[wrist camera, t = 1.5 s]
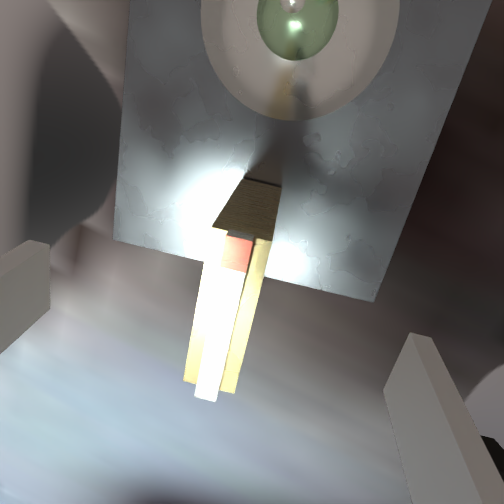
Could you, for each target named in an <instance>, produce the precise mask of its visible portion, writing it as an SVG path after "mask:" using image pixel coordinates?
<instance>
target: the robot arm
mask: <svg viewBox="0 0 504 504" xmlns="http://www.w3.org/2000/svg"><path fill="white" fill-rule="evenodd" d="M49 309H50V245H48V244H44V243H40V242H36V241H32V240H28V241H26V242H24V243H23V244H21V245H19V246H18V247H16V248H14V249H13V250H11V251H9V252H7V253H6V254H4V255H3V256H1V257H0V354H1V353H2V352H3V351H4V350H5V349H7V348H8V347H9V346H10V345H11V344H12V343H13V342H14V341H15V340H16V339H17V338H19V337H20V336H21V335H22V334H23V333H24V332H25V331H26V330H27V329H28V328H30V327H31V326H32V325H33V324H34V323H35V322H36V321H37V320H38V319H39V318H40V317H42V316H43V315H44V314H45V313H46V312H47V311H48V310H49ZM383 393H384V397H385V401H386V405H387V409H388V413H389V416H390V420H391V424H392V428H393V432H394V436H395V439H396V443H397V447H398V451H399V455H400V459H401V462H402V466H403V470H404V474H405V478H406V482H407V485H408V489H409V493H410V497H411V501H412V504H504V449H503V448H502V447H501V446H500V445H499V444H498V443H497V442H496V441H495V439H493V438H489V437H485V436H481V435H480V434H479V432H478V430H477V428H476V426H475V424H474V422H473V420H472V418H471V416H470V414H469V412H468V410H467V408H466V406H465V404H464V402H463V400H462V398H461V396H460V394H459V392H458V390H457V388H456V386H455V384H454V382H453V380H452V378H451V376H450V374H449V372H448V370H447V368H446V366H445V364H444V362H443V360H442V358H441V356H440V354H439V352H438V350H437V348H436V346H435V344H434V342H433V340H432V338H431V337H427V336H423V335H419V334H415V333H409V335H408V337H407V339H406V341H405V344H404V346H403V348H402V350H401V352H400V354H399V357H398V359H397V361H396V363H395V365H394V367H393V370H392V372H391V374H390V376H389V378H388V380H387V383H386V385H385V387H384V389H383Z"/></svg>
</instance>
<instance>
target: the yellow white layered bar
mask: <svg viewBox="0 0 504 504" xmlns="http://www.w3.org/2000/svg"><path fill="white" fill-rule="evenodd" d="M281 190H282V188H280V187H276V186H272V185H268V184H264V183H259V182H255V181H251V180H247V179H243V178H242V179H241V180H240V182H239V184H238V185H237V187H236V188H235V190H234V191H233V193H232V195H231V196H230V198H229V199H228V201H227V202H226V204H225V206H224V207H223V209H222V210H221V212H220V213H219V215H218V217H217V218H216V220H215V221H214V223H213V224H212V226H211V228H210V234H209V240H208V245H207V251H206V256H205V262H204V267H203V273H202V278H201V284H200V289H199V295H198V301H197V306H196V312H195V317H194V323H193V328H192V334H191V339H190V345H189V350H188V356H187V362H186V367H185V373H184V378H183V381H186V382H190V383H194V384H197V385H196V390H195V395H194V397H198V398H202V399H206V400H210V401H214V402H216V399H217V396H218V392H219V390H222V391H226V392H230V393H234V392H235V388H236V384H237V380H238V376H239V372H240V368H241V364H242V360H243V356H244V352H245V348H246V344H247V340H248V336H249V332H250V328H251V324H252V320H253V317H254V313H255V309H256V305H257V301H258V297H259V293H260V289H261V285H262V281H263V277H264V273H265V269H266V265H267V261H268V257H269V253H270V249H271V245H272V241H273V235H274V230H275V224H276V218H277V213H278V207H279V202H280V196H281Z"/></svg>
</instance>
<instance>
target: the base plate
mask: <svg viewBox="0 0 504 504" xmlns="http://www.w3.org/2000/svg"><path fill="white" fill-rule="evenodd" d="M491 2H492V0H130V10H129V24H128V37H127V51H126V64H125V78H124V92H123V105H122V119H121V134H120V146H119V160H118V174H117V187H116V201H115V215H114V228H113V240H117V241H121V242H125V243H129V244H133V245H138V246H142V247H146V248H150V249H154V250H158V251H162V252H166V253H171V254H175V255H179V256H183V257H187V258H191V259H195V260H199V261H204V262H205V256H206V251H207V245H208V240H209V234H210V228H211V226H212V224H213V223H214V221H215V220H216V218H217V217H218V215H219V213H220V212H221V210H222V209H223V207H224V206H225V204H226V202H227V201H228V199H229V198H230V196H231V195H232V193H233V191H234V190H235V188H236V187H237V185H238V184H239V182H240V180H241V179H242V178H243V179H247V180H251V181H255V182H259V183H264V184H268V185H272V186H276V187H280V188H282V190H281V196H280V202H279V207H278V213H277V218H276V224H275V230H274V235H273V241H272V245H271V249H270V253H269V257H268V261H267V265H266V269H265V273H264V276H265V277H270V278H274V279H278V280H282V281H286V282H290V283H294V284H298V285H303V286H307V287H311V288H315V289H319V290H323V291H327V292H331V293H336V294H340V295H344V296H348V297H352V298H356V299H360V300H364V301H369V302H373V303H374V300H375V298H376V295H377V293H378V290H379V288H380V285H381V283H382V280H383V278H384V275H385V272H386V270H387V267H388V265H389V262H390V260H391V257H392V255H393V252H394V249H395V247H396V244H397V242H398V239H399V237H400V234H401V232H402V229H403V227H404V224H405V221H406V219H407V216H408V214H409V211H410V209H411V206H412V204H413V201H414V199H415V196H416V193H417V191H418V188H419V186H420V183H421V181H422V178H423V176H424V173H425V170H426V168H427V165H428V163H429V160H430V158H431V155H432V153H433V150H434V148H435V145H436V142H437V140H438V137H439V135H440V132H441V130H442V127H443V125H444V122H445V119H446V117H447V114H448V112H449V109H450V107H451V104H452V102H453V99H454V97H455V94H456V91H457V89H458V86H459V84H460V81H461V79H462V76H463V74H464V71H465V69H466V66H467V63H468V61H469V58H470V56H471V53H472V51H473V48H474V46H475V43H476V40H477V38H478V35H479V33H480V30H481V28H482V25H483V23H484V20H485V18H486V15H487V12H488V10H489V7H490V5H491Z"/></svg>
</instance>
